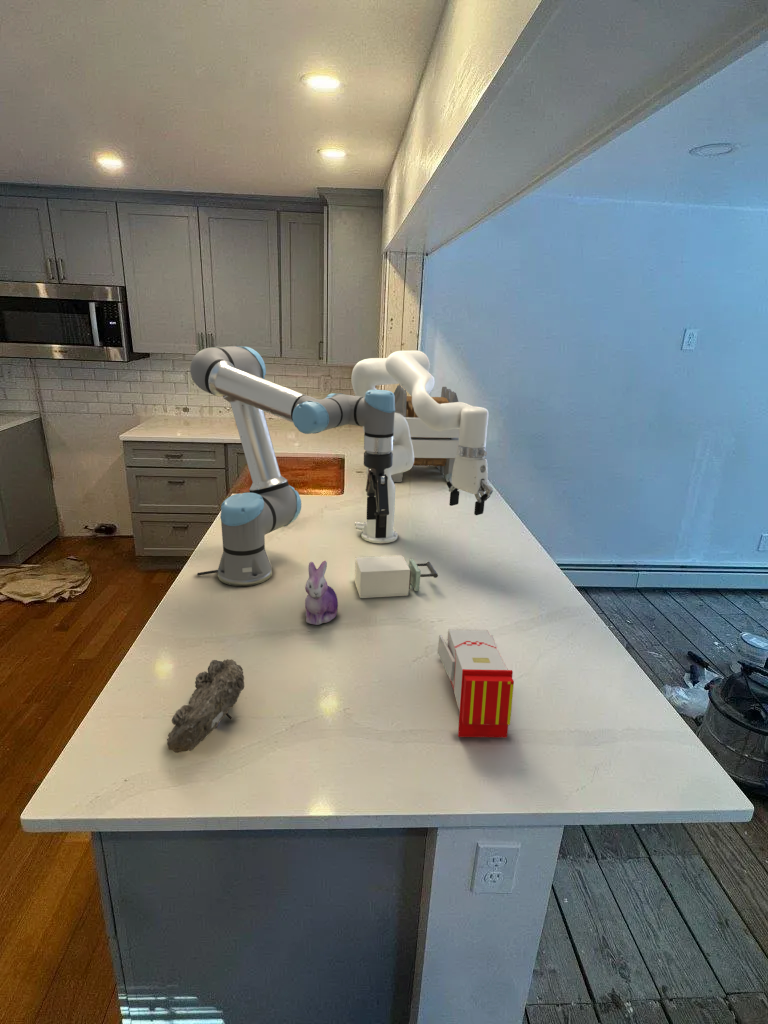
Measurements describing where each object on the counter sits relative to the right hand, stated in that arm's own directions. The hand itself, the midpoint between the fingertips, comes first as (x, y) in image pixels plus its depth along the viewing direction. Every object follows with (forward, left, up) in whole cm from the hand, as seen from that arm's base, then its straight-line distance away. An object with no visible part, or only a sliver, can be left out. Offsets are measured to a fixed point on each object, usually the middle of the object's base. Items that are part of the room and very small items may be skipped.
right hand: (466, 509), depth 164 cm
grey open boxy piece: (-37, +104, -21) cm, 113 cm away
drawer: (-14, -14, -20) cm, 28 cm away
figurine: (-29, -38, -21) cm, 52 cm away
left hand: (-21, -18, -2) cm, 28 cm away
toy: (+11, -55, -21) cm, 60 cm away
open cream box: (-20, -17, -21) cm, 33 cm away
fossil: (-34, -79, -21) cm, 89 cm away
